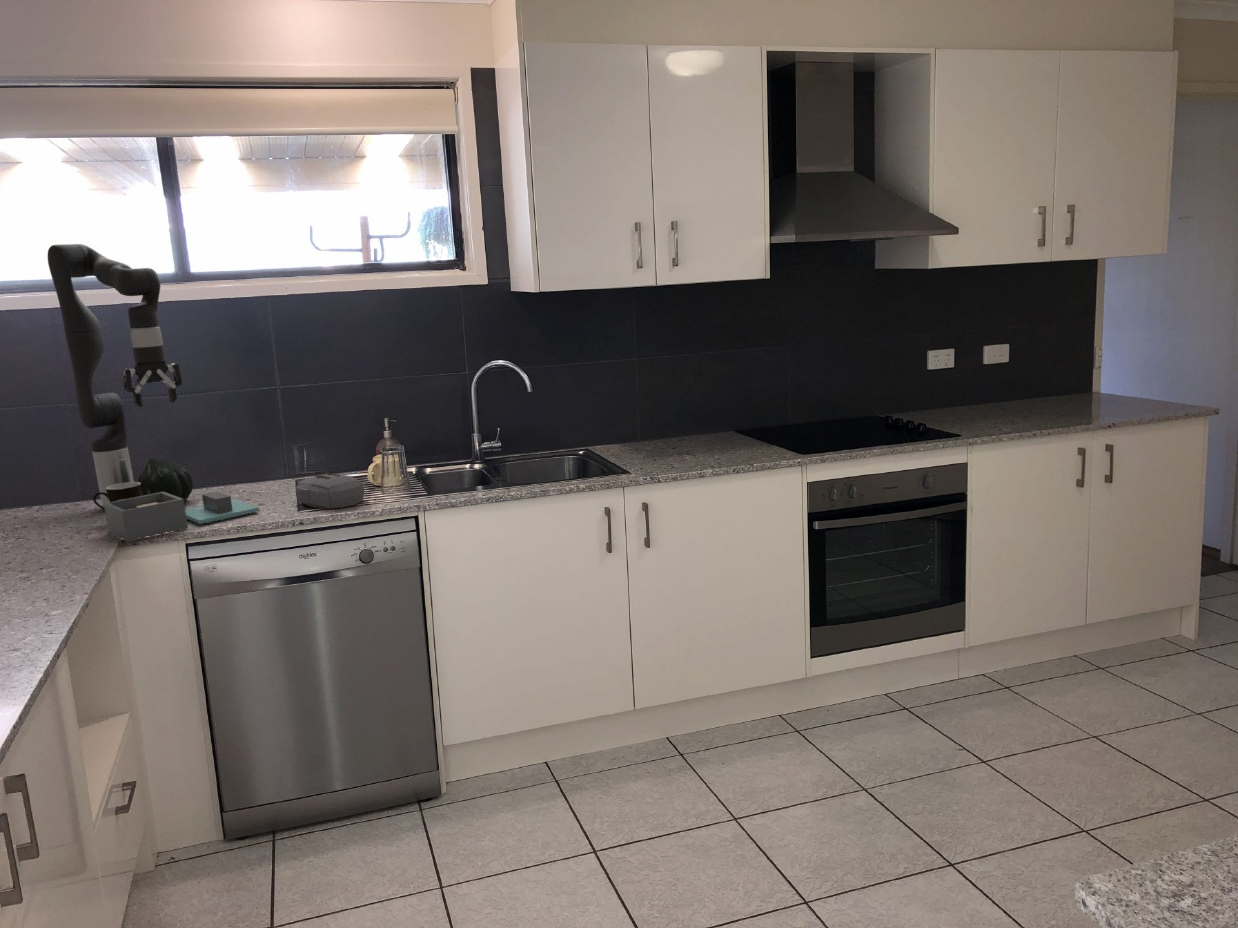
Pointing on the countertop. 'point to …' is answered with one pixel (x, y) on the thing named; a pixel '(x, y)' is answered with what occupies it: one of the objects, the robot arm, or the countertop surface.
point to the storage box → (145, 516)
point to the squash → (165, 478)
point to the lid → (218, 508)
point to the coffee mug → (120, 492)
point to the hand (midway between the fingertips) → (156, 404)
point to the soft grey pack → (330, 491)
